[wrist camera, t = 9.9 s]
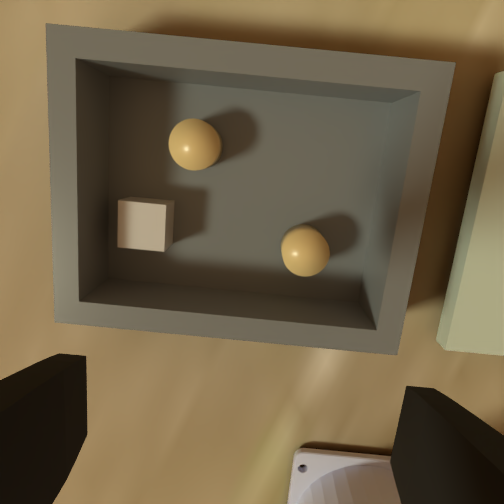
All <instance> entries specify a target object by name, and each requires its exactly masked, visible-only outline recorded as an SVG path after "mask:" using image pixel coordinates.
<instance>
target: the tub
mask: <svg viewBox="0 0 504 504" xmlns="http://www.w3.org/2000/svg"><path fill="white" fill-rule="evenodd" d="M46 52H47V86H48V119H49V153H50V186H51V219H52V253H53V286H54V319H55V322H56V323H67V324H77V325H87V326H98V327H108V328H119V329H129V330H139V331H150V332H160V333H170V334H181V335H191V336H201V337H212V338H222V339H233V340H243V341H253V342H264V343H274V344H284V345H295V346H305V347H315V348H326V349H336V350H347V351H357V352H367V353H378V354H388V355H397V354H398V349H399V344H400V339H401V334H402V329H403V324H404V319H405V314H406V309H407V304H408V299H409V294H410V289H411V284H412V279H413V274H414V269H415V264H416V259H417V254H418V249H419V244H420V239H421V234H422V229H423V224H424V219H425V214H426V209H427V204H428V199H429V195H430V190H431V185H432V180H433V175H434V170H435V165H436V160H437V155H438V150H439V145H440V140H441V135H442V130H443V125H444V120H445V115H446V110H447V105H448V100H449V95H450V90H451V85H452V80H453V75H454V70H455V65H456V62H445V61H435V60H425V59H414V58H404V57H393V56H383V55H372V54H362V53H351V52H341V51H330V50H320V49H309V48H299V47H289V46H278V45H268V44H257V43H247V42H236V41H226V40H215V39H205V38H194V37H184V36H173V35H163V34H153V33H142V32H132V31H121V30H111V29H100V28H90V27H79V26H69V25H58V24H48V23H46Z"/></svg>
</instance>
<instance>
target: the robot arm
mask: <svg viewBox="0 0 504 504" xmlns="http://www.w3.org/2000/svg"><path fill="white" fill-rule="evenodd" d="M86 436H87V376H86V356H81V355H70V354H56V355H54V356H51V357H49V358H46V359H44V360H42V361H40V362H37V363H35V364H33V365H31V366H29V367H27V368H25V369H23V370H21V371H19V372H16V373H14V374H12V375H10V376H8V377H6V378H4V379H2V380H0V504H52V503H53V502H54V500H55V498H56V497H57V495H58V493H59V492H60V490H61V488H62V487H63V485H64V483H65V481H66V480H67V478H68V476H69V474H70V471H71V469H72V467H73V465H74V463H75V461H76V459H77V456H78V454H79V452H80V450H81V447H82V445H83V443H84V441H85V438H86ZM302 464H304V465H306V466H304V467H300V465H302ZM287 504H504V435H502V434H501V433H499V432H498V431H496V430H495V429H494V428H492V427H491V426H489V425H488V424H486V423H485V422H484V421H482V420H481V419H479V418H478V417H477V416H475V415H474V414H472V413H471V412H469V411H468V410H467V409H465V408H464V407H462V406H461V405H459V404H458V403H456V402H455V401H453V400H452V399H450V398H449V397H447V396H446V395H444V394H442V393H441V392H439V391H437V390H436V389H434V388H424V387H413V386H406V390H405V395H404V400H403V404H402V409H401V413H400V418H399V423H398V427H397V432H396V436H395V441H394V446H393V450H392V455H391V456H383V455H373V454H362V453H352V452H342V451H331V450H321V449H311V448H300V449H298V450H297V451H296V452H295V454H294V459H293V466H292V473H291V480H290V487H289V494H288V501H287Z"/></svg>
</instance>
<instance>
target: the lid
mask: <svg viewBox="0 0 504 504" xmlns="http://www.w3.org/2000/svg"><path fill="white" fill-rule="evenodd" d="M436 341H437V342H438V343H439V344H440V345H441V346H442V347H443V348H444V349H445V350H449V351H459V352H470V353H480V354H491V355H501V356H504V71H501V72H499V73H496V74H495V75H494V79H493V84H492V89H491V93H490V98H489V102H488V107H487V111H486V116H485V120H484V125H483V129H482V134H481V138H480V143H479V147H478V152H477V156H476V161H475V165H474V170H473V175H472V179H471V184H470V188H469V193H468V197H467V202H466V206H465V211H464V215H463V220H462V224H461V229H460V233H459V238H458V242H457V247H456V251H455V256H454V261H453V265H452V270H451V274H450V279H449V283H448V288H447V292H446V297H445V301H444V306H443V310H442V315H441V319H440V324H439V328H438V333H437V337H436Z"/></svg>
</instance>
